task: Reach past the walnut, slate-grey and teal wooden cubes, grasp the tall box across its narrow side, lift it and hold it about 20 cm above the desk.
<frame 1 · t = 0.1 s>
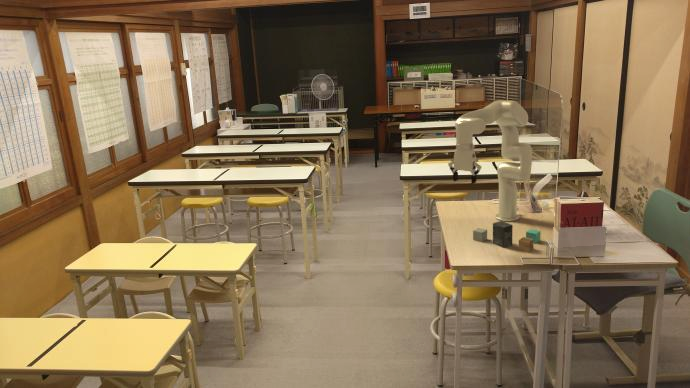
hand: (464, 181, 255), 31 cm above the table, tool pointing down, fingers open, 9 cm apart
teal cube: (533, 241, 260), on the table
box: (502, 244, 258), on the table
walnut cube: (525, 249, 250), on the table
slate cube: (480, 239, 266), on the table
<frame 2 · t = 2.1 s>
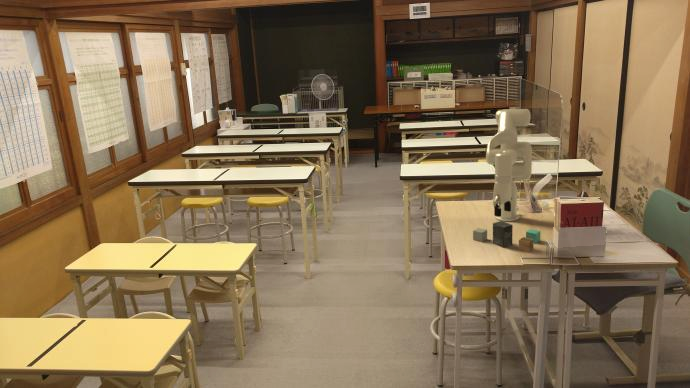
hand: (502, 213, 253), 16 cm above the table, tool pointing down, fingers open, 9 cm apart
nothing on the table moved.
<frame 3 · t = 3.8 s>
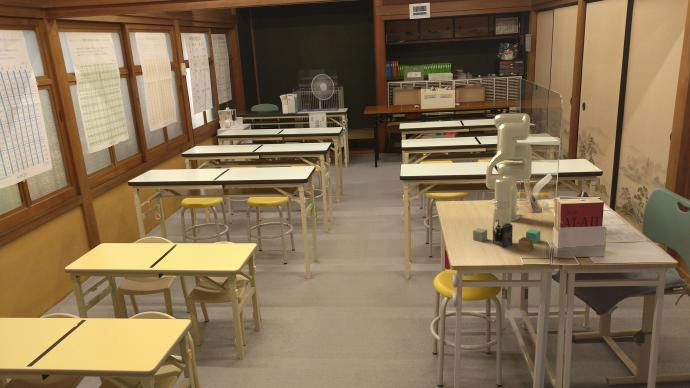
hand: (502, 238, 257), 3 cm above the table, tool pointing down, fingers closed on box, 7 cm apart
box: (502, 244, 258), on the table, touching gripper
everything else where it was.
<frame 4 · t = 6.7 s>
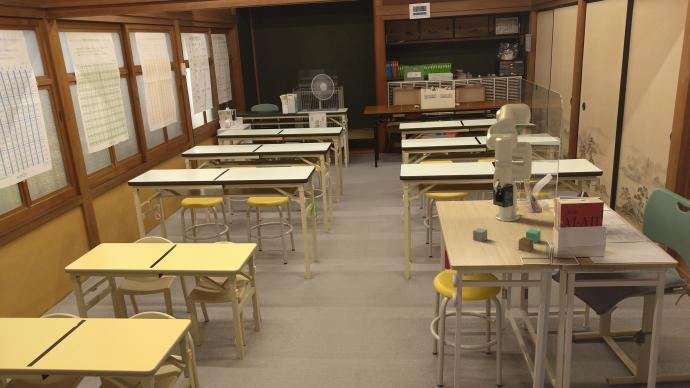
hand: (502, 199, 253), 22 cm above the table, tool pointing down, fingers closed on box, 7 cm apart
box: (502, 205, 254), point 19 cm above the table, touching gripper
everything else where it was.
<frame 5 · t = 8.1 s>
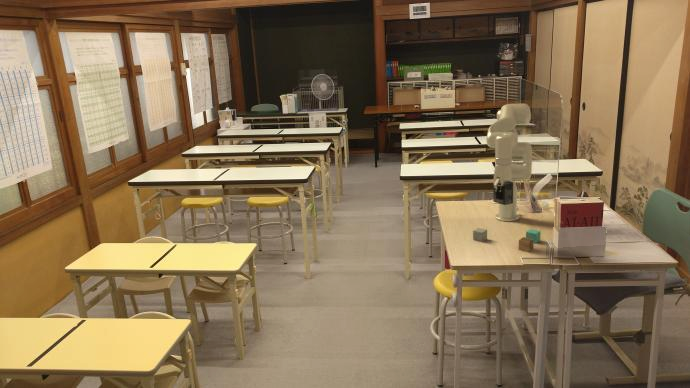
hand: (503, 196, 256), 23 cm above the table, tool pointing down, fingers closed on box, 7 cm apart
box: (503, 203, 257), point 19 cm above the table, touching gripper
everything else where it was.
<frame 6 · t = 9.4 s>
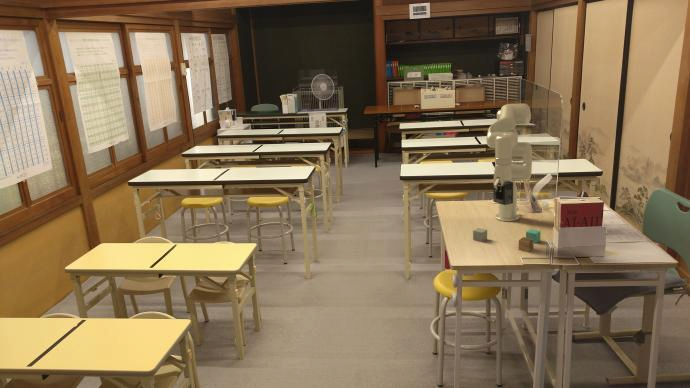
hand: (503, 196, 256), 23 cm above the table, tool pointing down, fingers closed on box, 7 cm apart
box: (503, 203, 257), point 19 cm above the table, touching gripper
everything else where it was.
at the end: the gripper is holding box; box point 19.5 cm above the table; walnut cube moved 0.1 cm from its start; slate cube moved 0.1 cm from its start; teal cube moved 0.1 cm from its start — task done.
